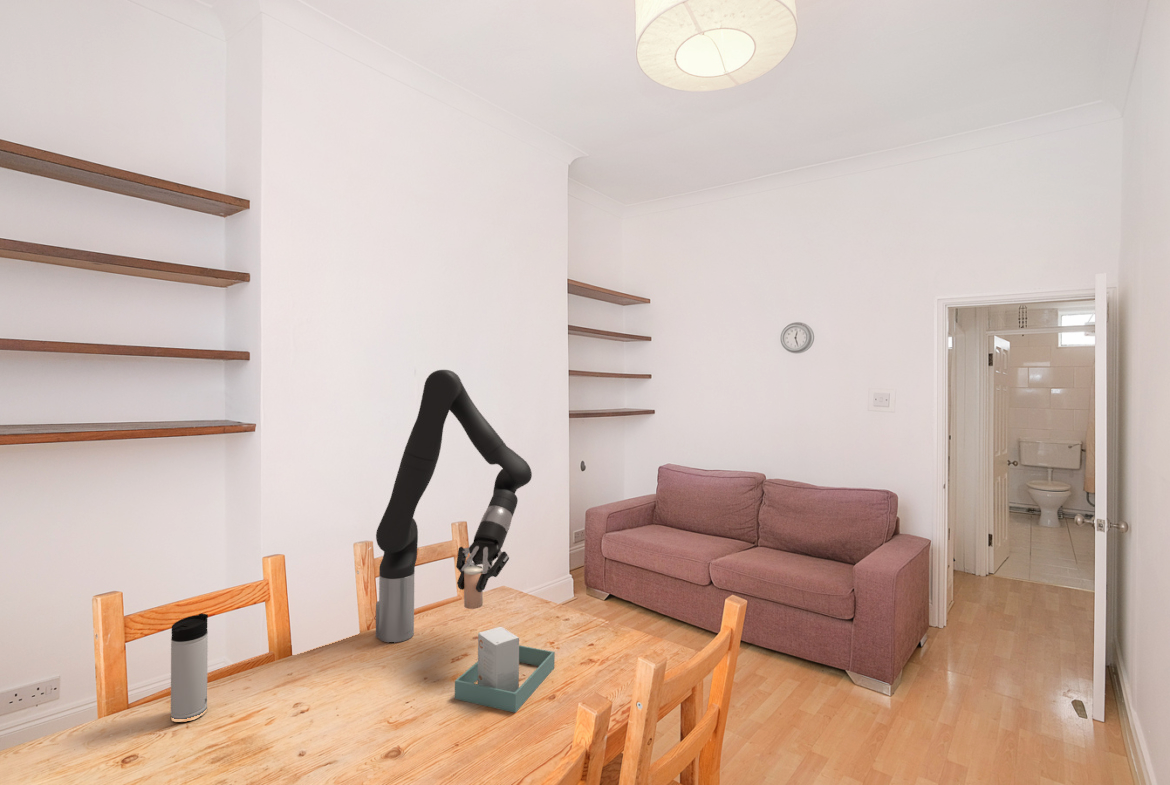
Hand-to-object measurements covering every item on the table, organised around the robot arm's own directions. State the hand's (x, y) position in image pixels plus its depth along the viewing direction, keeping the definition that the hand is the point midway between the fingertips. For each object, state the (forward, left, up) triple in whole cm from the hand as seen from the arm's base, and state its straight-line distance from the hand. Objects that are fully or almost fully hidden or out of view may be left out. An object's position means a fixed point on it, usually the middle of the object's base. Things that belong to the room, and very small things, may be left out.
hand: (469, 589), depth 139 cm
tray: (+11, 0, -20) cm, 23 cm away
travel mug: (-44, -36, -21) cm, 61 cm away
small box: (+11, -5, -21) cm, 24 cm away
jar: (0, +2, -5) cm, 5 cm away
